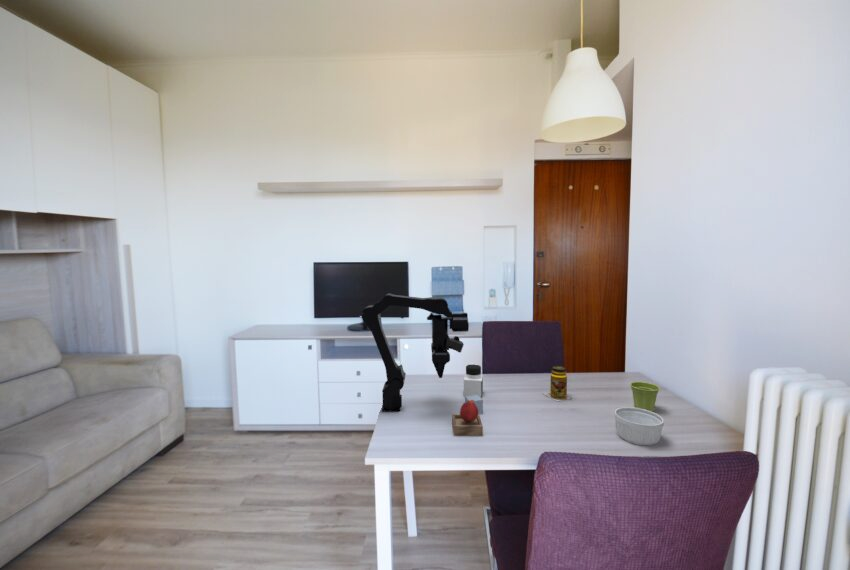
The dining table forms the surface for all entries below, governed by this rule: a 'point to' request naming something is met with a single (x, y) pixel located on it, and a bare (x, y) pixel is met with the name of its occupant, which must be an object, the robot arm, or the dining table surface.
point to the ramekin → (638, 425)
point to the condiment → (558, 384)
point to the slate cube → (476, 402)
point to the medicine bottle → (473, 381)
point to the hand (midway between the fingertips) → (440, 373)
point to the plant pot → (644, 395)
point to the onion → (469, 411)
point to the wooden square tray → (466, 426)
